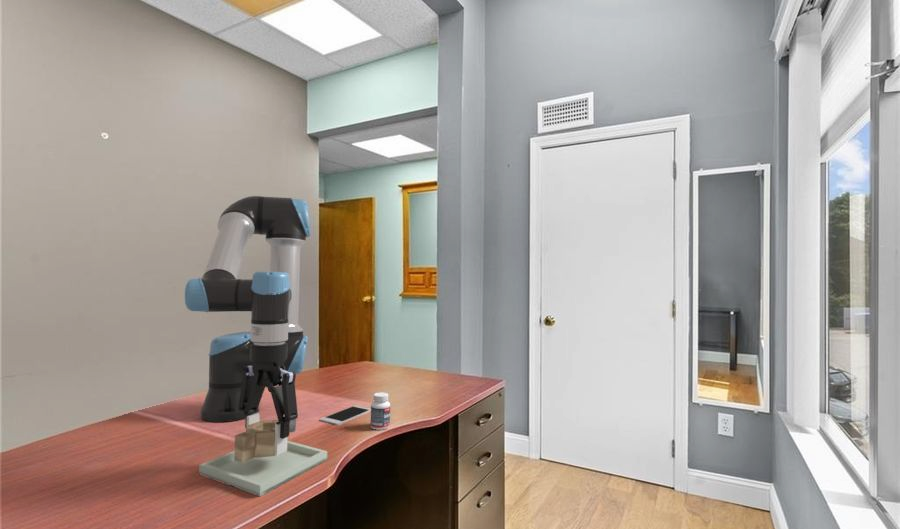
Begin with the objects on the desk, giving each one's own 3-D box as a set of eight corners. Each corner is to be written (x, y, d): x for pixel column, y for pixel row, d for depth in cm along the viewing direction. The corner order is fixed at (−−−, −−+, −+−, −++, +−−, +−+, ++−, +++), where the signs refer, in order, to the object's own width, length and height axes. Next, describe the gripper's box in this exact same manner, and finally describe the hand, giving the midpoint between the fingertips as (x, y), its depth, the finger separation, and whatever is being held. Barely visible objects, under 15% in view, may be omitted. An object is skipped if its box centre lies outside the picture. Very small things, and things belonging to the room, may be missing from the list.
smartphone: (318, 422, 123) (318, 418, 123) (355, 407, 137) (355, 404, 137) (337, 426, 120) (337, 423, 120) (373, 411, 133) (373, 408, 133)
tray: (199, 474, 90) (199, 464, 90) (270, 444, 106) (270, 436, 106) (260, 496, 82) (260, 485, 82) (327, 460, 98) (327, 451, 98)
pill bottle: (385, 431, 116) (386, 397, 116) (367, 429, 117) (368, 396, 117) (392, 424, 121) (393, 392, 121) (374, 422, 122) (375, 391, 122)
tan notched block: (268, 439, 99) (269, 417, 99) (294, 446, 95) (295, 423, 95) (225, 457, 89) (225, 432, 89) (251, 465, 86) (252, 440, 86)
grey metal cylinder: (282, 431, 114) (282, 403, 115) (290, 427, 117) (291, 400, 117) (289, 432, 113) (290, 405, 113) (297, 429, 116) (298, 402, 116)
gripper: (221, 340, 95) (218, 445, 95) (291, 349, 86) (287, 465, 86) (251, 336, 102) (248, 434, 102) (318, 344, 93) (315, 452, 92)
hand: (266, 448), depth 94 cm, fingers closed on tan notched block, 8 cm apart
